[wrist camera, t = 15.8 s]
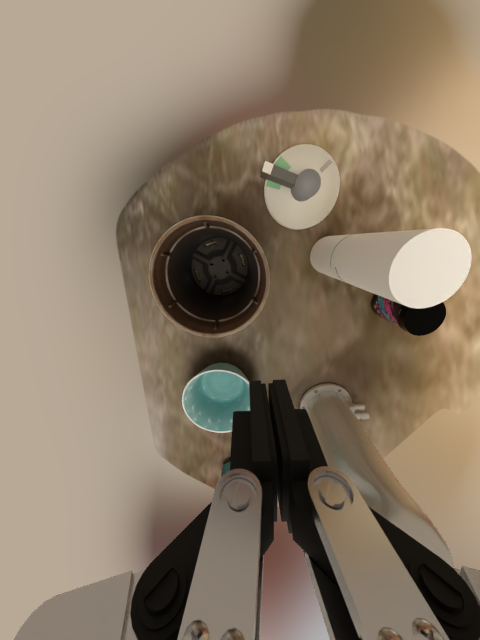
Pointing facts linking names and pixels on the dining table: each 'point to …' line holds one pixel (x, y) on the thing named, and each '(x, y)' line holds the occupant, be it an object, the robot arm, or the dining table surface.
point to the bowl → (216, 397)
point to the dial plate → (315, 207)
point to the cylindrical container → (398, 263)
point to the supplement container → (410, 315)
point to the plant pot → (209, 276)
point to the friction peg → (294, 180)
